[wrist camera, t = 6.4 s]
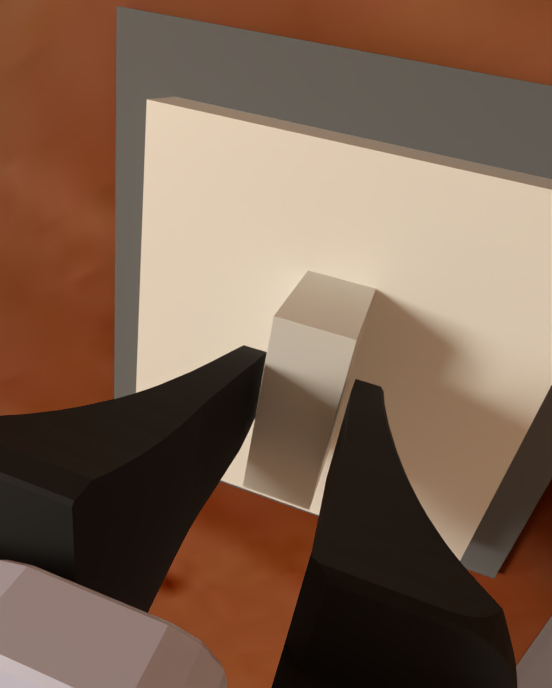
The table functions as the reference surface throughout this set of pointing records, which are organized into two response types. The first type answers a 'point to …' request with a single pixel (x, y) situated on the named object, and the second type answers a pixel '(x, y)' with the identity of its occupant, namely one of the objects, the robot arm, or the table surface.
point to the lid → (349, 297)
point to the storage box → (537, 662)
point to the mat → (344, 117)
